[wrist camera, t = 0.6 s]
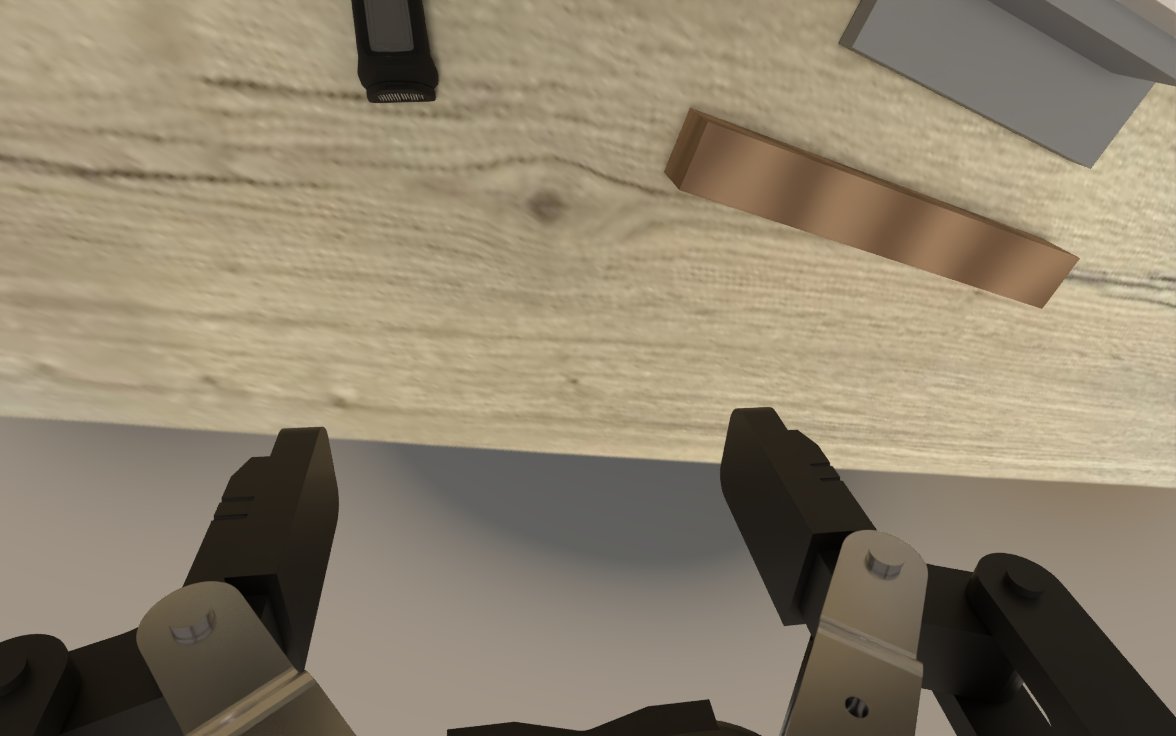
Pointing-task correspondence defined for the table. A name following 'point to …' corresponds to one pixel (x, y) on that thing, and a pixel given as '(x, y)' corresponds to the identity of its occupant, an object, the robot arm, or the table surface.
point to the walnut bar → (862, 210)
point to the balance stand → (1028, 60)
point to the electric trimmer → (394, 51)
